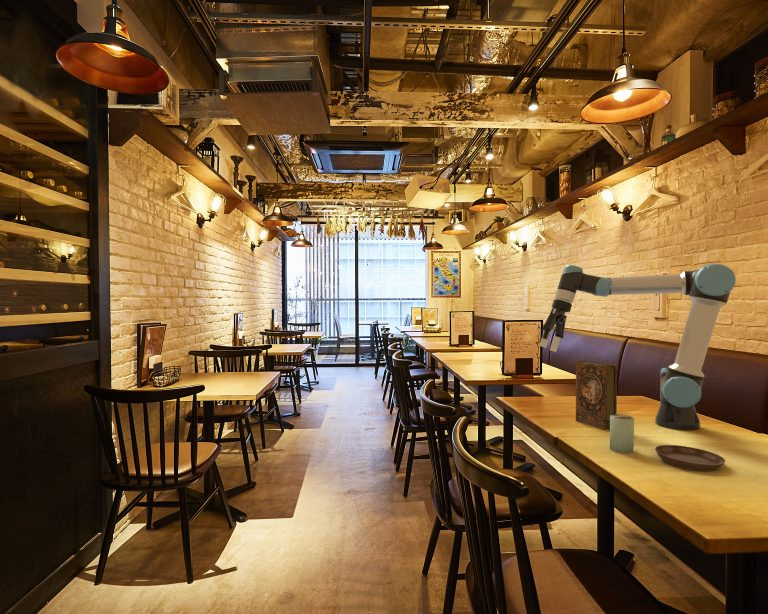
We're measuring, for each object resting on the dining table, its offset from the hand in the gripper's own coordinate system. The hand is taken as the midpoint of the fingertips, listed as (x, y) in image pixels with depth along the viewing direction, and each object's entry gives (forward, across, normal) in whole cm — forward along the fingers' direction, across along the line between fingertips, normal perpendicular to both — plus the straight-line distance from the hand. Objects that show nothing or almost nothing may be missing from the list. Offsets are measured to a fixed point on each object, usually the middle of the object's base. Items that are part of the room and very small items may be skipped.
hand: (547, 349), depth 185 cm
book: (+24, -11, +23) cm, 35 cm away
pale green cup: (+26, +18, +39) cm, 50 cm away
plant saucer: (+22, +18, +57) cm, 64 cm away
